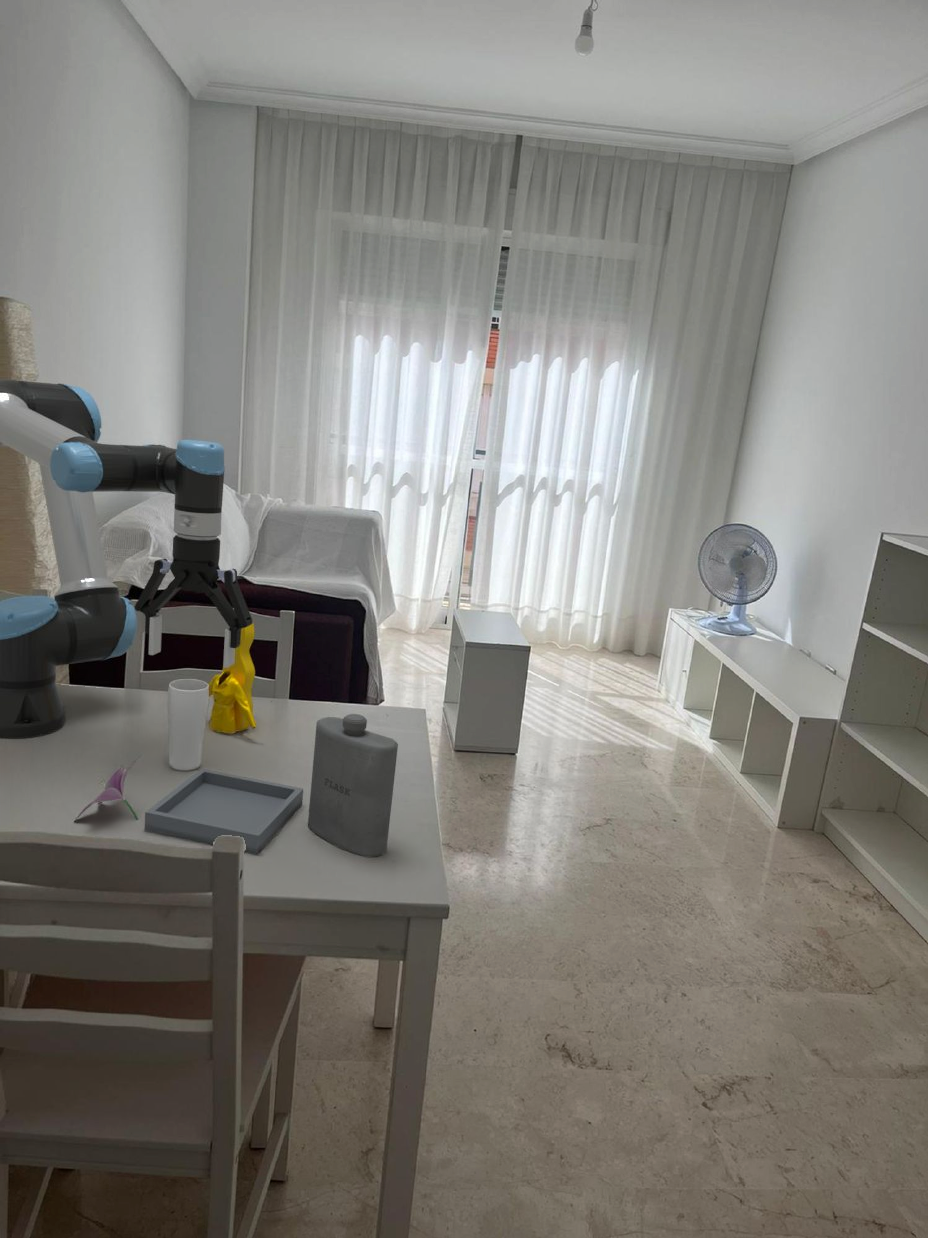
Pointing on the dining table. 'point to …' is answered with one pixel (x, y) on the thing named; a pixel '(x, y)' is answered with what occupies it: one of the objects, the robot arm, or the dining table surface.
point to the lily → (113, 789)
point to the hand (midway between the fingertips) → (191, 659)
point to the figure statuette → (234, 690)
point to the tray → (225, 809)
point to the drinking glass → (187, 722)
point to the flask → (352, 785)
